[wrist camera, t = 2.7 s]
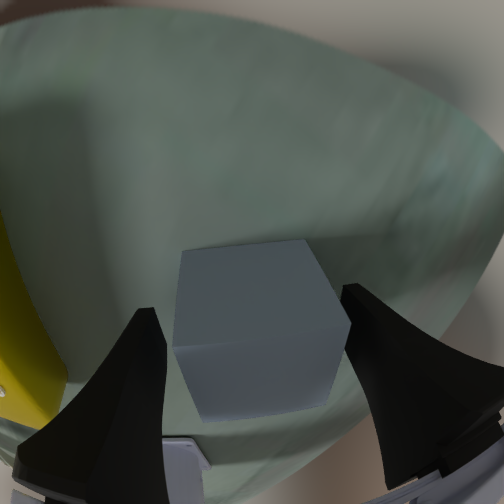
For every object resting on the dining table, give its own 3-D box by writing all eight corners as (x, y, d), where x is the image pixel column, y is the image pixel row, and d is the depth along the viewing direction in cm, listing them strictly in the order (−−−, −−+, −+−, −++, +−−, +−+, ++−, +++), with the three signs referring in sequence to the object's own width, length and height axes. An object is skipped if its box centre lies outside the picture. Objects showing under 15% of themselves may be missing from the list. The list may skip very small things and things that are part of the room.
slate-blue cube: (297, 322, 13) (325, 405, 9) (200, 334, 13) (202, 422, 9) (303, 238, 11) (351, 323, 7) (182, 250, 10) (172, 346, 7)
